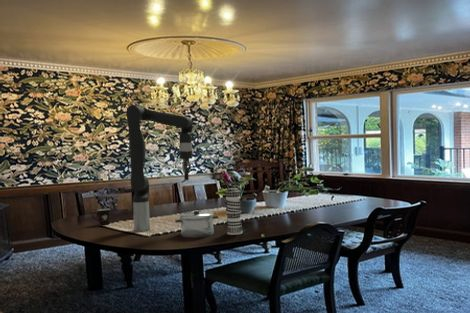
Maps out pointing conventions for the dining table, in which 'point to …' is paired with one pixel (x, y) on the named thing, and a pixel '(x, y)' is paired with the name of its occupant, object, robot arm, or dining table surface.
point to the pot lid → (196, 214)
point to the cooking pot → (197, 227)
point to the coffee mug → (103, 216)
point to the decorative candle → (233, 211)
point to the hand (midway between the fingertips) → (186, 179)
